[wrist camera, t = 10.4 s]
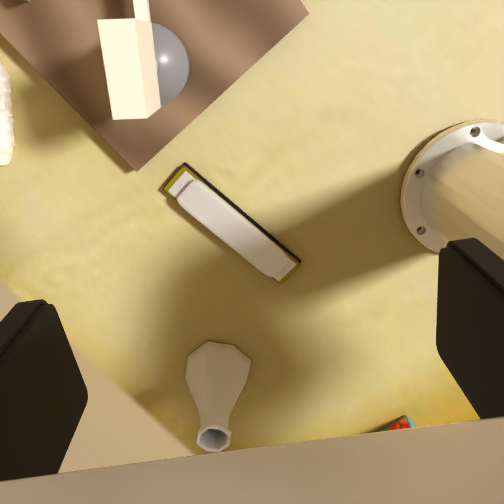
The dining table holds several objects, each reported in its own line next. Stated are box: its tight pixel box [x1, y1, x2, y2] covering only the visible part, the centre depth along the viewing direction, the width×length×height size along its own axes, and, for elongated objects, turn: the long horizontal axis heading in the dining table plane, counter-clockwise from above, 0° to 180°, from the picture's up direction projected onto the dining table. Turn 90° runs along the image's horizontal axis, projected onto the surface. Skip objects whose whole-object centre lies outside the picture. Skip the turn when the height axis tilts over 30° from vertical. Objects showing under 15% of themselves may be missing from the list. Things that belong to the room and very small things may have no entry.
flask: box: [185, 341, 252, 452], centre depth 45 cm, size 7×7×10 cm
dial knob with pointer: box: [97, 0, 191, 120], centre depth 28 cm, size 13×6×10 cm, turn 2°
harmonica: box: [163, 163, 301, 284], centre depth 42 cm, size 15×3×2 cm, turn 47°
